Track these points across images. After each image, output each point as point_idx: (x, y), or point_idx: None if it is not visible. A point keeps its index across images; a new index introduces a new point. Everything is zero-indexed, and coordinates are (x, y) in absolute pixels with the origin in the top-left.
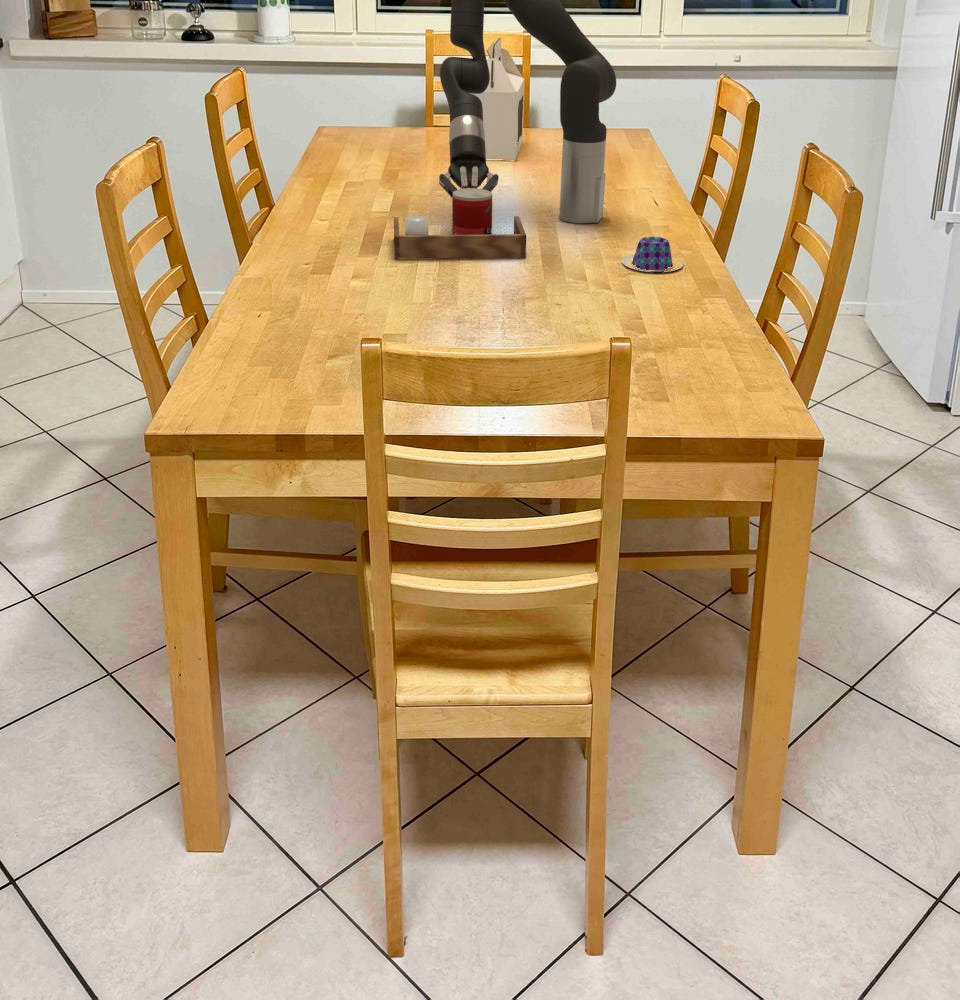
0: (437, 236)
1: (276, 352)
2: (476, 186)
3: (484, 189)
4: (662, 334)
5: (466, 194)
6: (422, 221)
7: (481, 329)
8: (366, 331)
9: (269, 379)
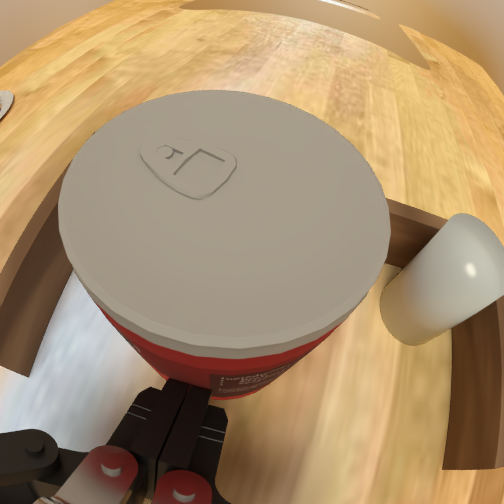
0: (387, 199)
1: (474, 86)
2: (49, 501)
3: (2, 457)
4: (151, 9)
5: (272, 201)
6: (458, 214)
7: (315, 35)
8: (425, 74)
9: (460, 66)
